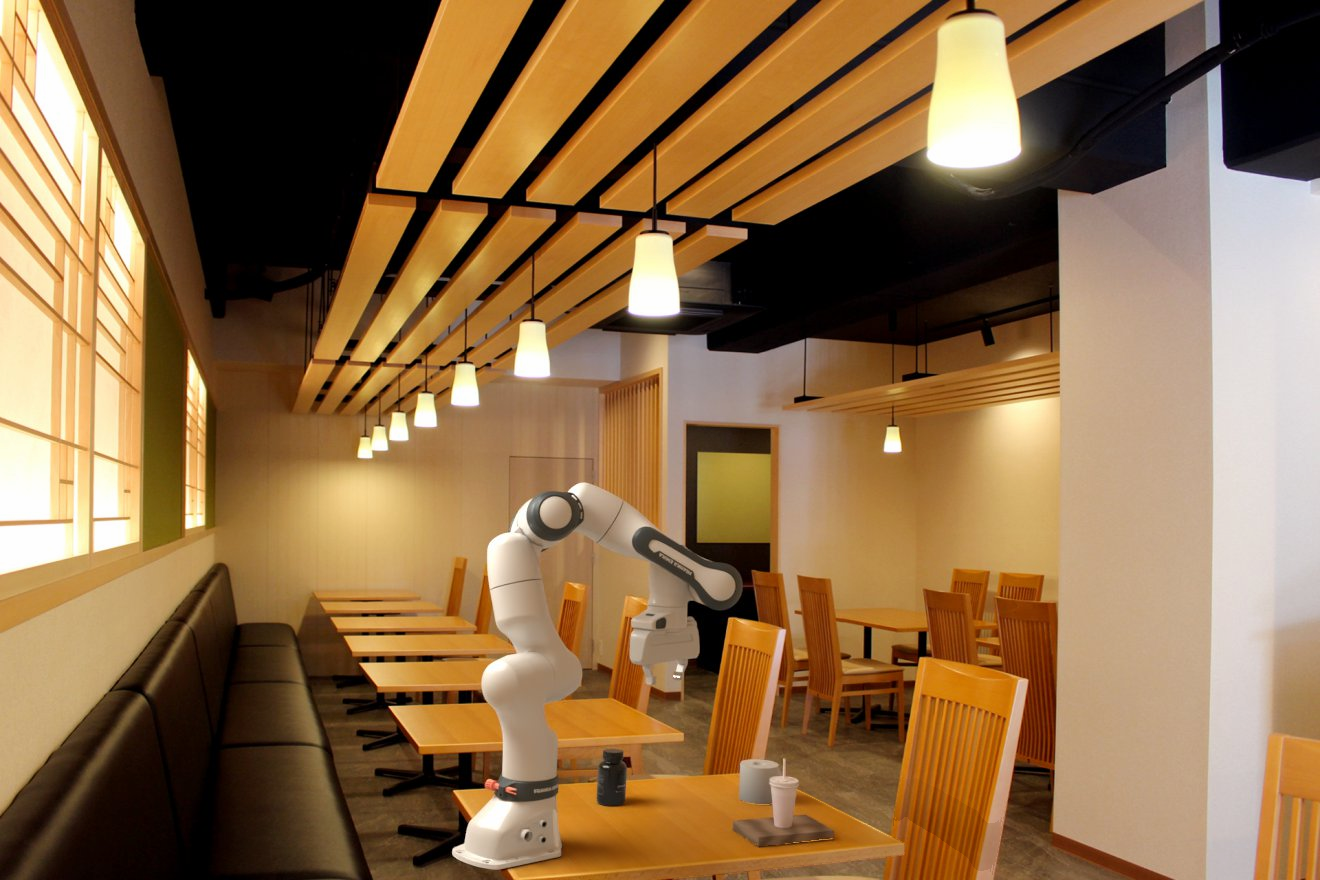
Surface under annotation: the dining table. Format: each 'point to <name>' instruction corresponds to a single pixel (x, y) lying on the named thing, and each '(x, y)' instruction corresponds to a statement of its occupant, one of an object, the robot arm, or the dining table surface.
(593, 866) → the dining table surface
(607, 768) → the supplement bottle
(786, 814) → the smoothie
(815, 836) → the walnut board
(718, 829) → the dining table surface
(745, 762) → the toilet tissue
